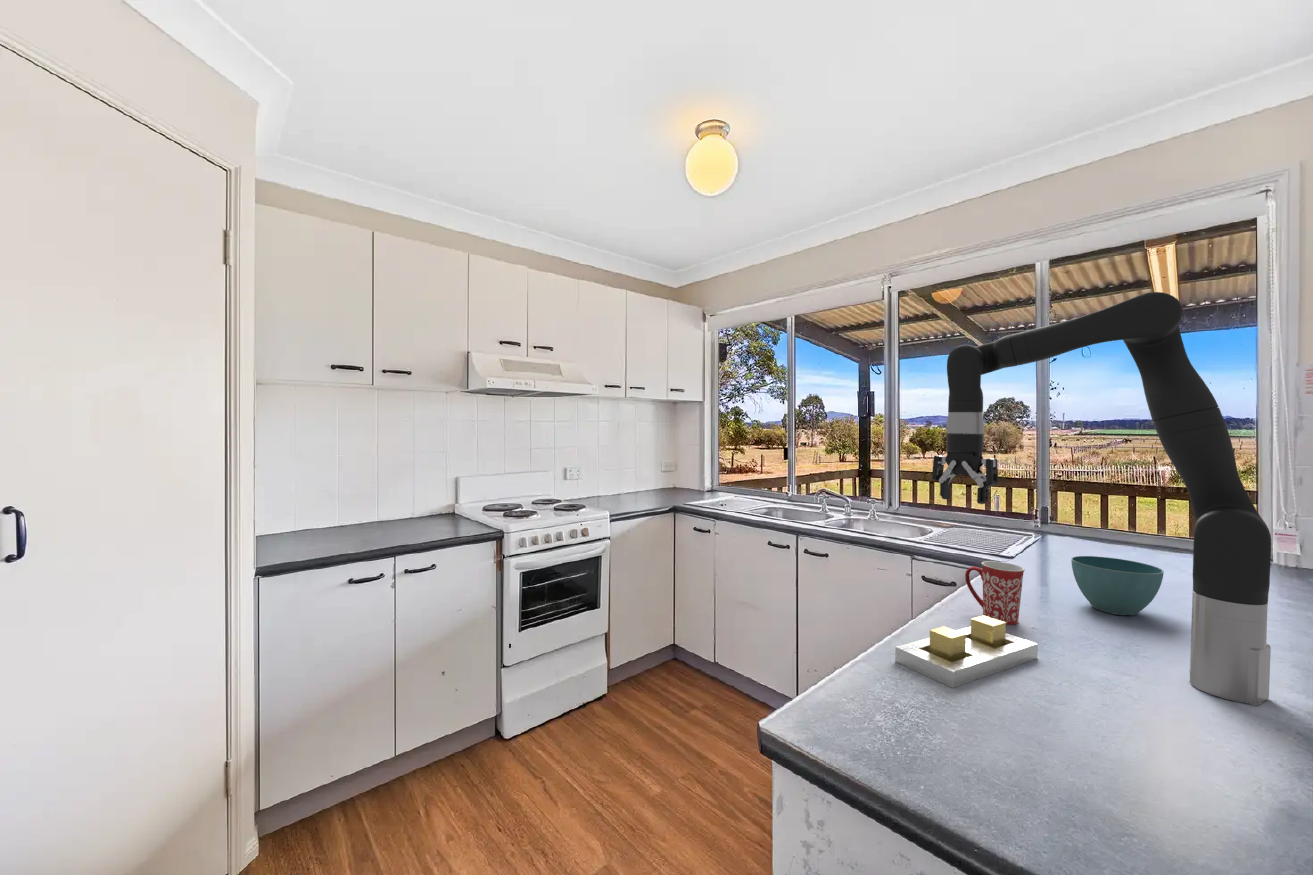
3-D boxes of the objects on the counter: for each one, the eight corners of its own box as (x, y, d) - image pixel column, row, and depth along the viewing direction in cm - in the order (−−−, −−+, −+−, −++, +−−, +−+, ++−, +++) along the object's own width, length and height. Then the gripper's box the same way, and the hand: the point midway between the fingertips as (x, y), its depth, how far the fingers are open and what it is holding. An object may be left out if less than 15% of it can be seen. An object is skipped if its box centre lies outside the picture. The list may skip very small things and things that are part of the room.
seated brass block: (1004, 655, 110) (1005, 622, 110) (992, 660, 108) (993, 625, 107) (982, 647, 114) (983, 615, 113) (970, 651, 112) (971, 618, 111)
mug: (1028, 620, 130) (1029, 566, 130) (1016, 629, 124) (1017, 572, 124) (972, 606, 140) (973, 556, 139) (958, 614, 134) (959, 561, 134)
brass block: (965, 669, 103) (965, 634, 103) (950, 674, 101) (951, 638, 101) (943, 660, 107) (944, 626, 107) (928, 664, 105) (929, 630, 105)
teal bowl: (1070, 594, 151) (1072, 552, 151) (1158, 609, 140) (1159, 563, 140) (1069, 611, 137) (1070, 564, 137) (1165, 629, 126) (1167, 577, 126)
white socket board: (978, 637, 119) (979, 624, 119) (1037, 658, 109) (1037, 643, 108) (895, 661, 106) (895, 646, 106) (952, 688, 95) (953, 671, 95)
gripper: (1006, 432, 119) (1004, 504, 119) (945, 431, 131) (944, 496, 131) (986, 432, 115) (984, 506, 115) (926, 431, 128) (924, 498, 128)
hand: (963, 501), depth 123 cm, fingers open, 8 cm apart
